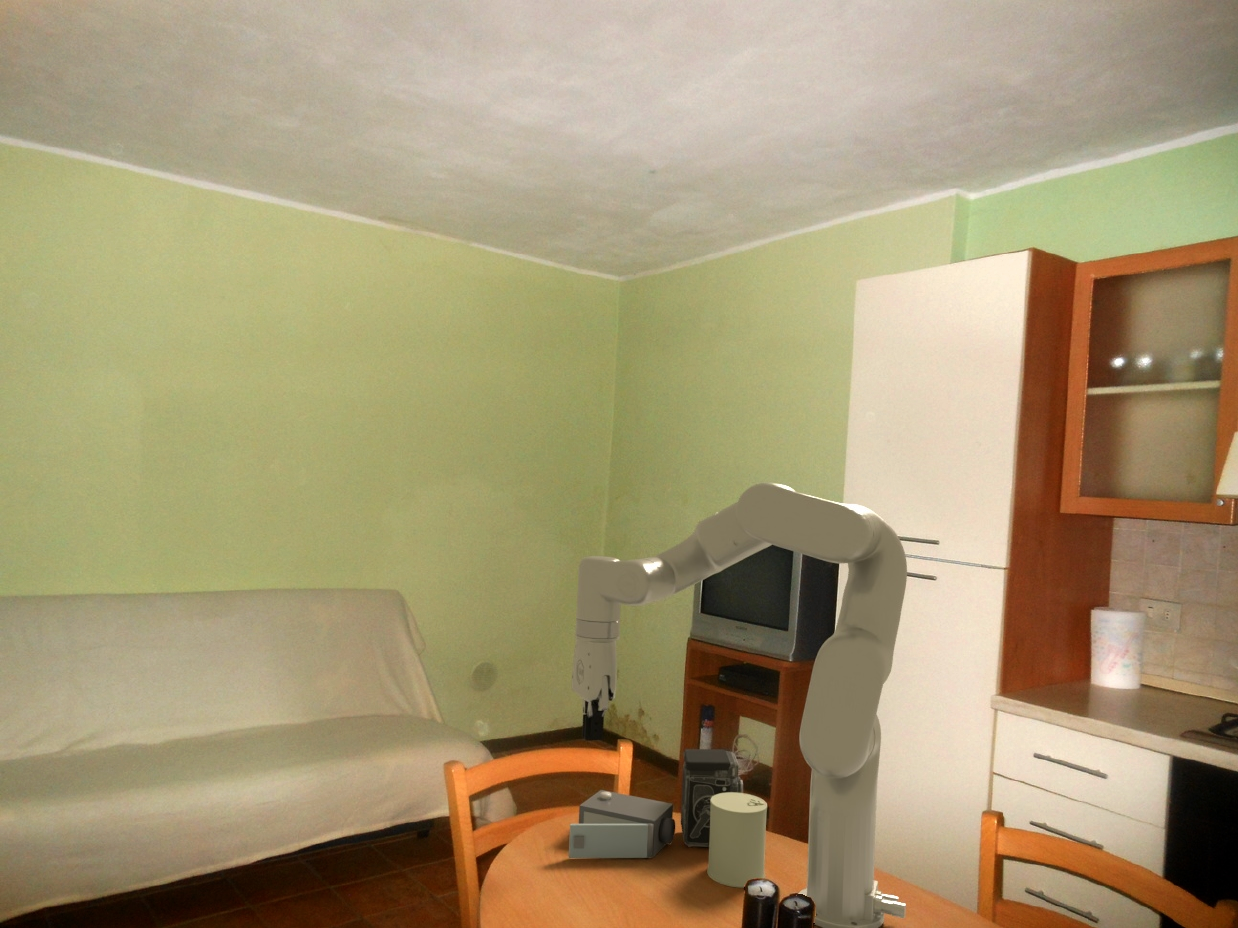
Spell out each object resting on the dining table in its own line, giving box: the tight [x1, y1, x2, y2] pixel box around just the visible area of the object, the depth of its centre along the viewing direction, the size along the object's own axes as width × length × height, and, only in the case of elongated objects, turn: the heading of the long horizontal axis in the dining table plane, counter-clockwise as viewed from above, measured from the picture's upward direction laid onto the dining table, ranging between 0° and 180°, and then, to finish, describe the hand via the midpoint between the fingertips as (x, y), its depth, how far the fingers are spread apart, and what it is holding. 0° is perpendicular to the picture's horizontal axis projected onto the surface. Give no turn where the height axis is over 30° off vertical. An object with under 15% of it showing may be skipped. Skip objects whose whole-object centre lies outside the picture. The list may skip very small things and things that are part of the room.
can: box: [706, 792, 768, 889], centre depth 136 cm, size 9×9×12 cm
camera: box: [680, 748, 744, 848], centre depth 149 cm, size 10×11×15 cm
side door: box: [568, 823, 654, 859], centre depth 140 cm, size 14×2×5 cm, turn 97°
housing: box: [578, 789, 676, 858], centre depth 148 cm, size 16×9×7 cm, turn 67°
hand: (592, 738), depth 143 cm, fingers closed
